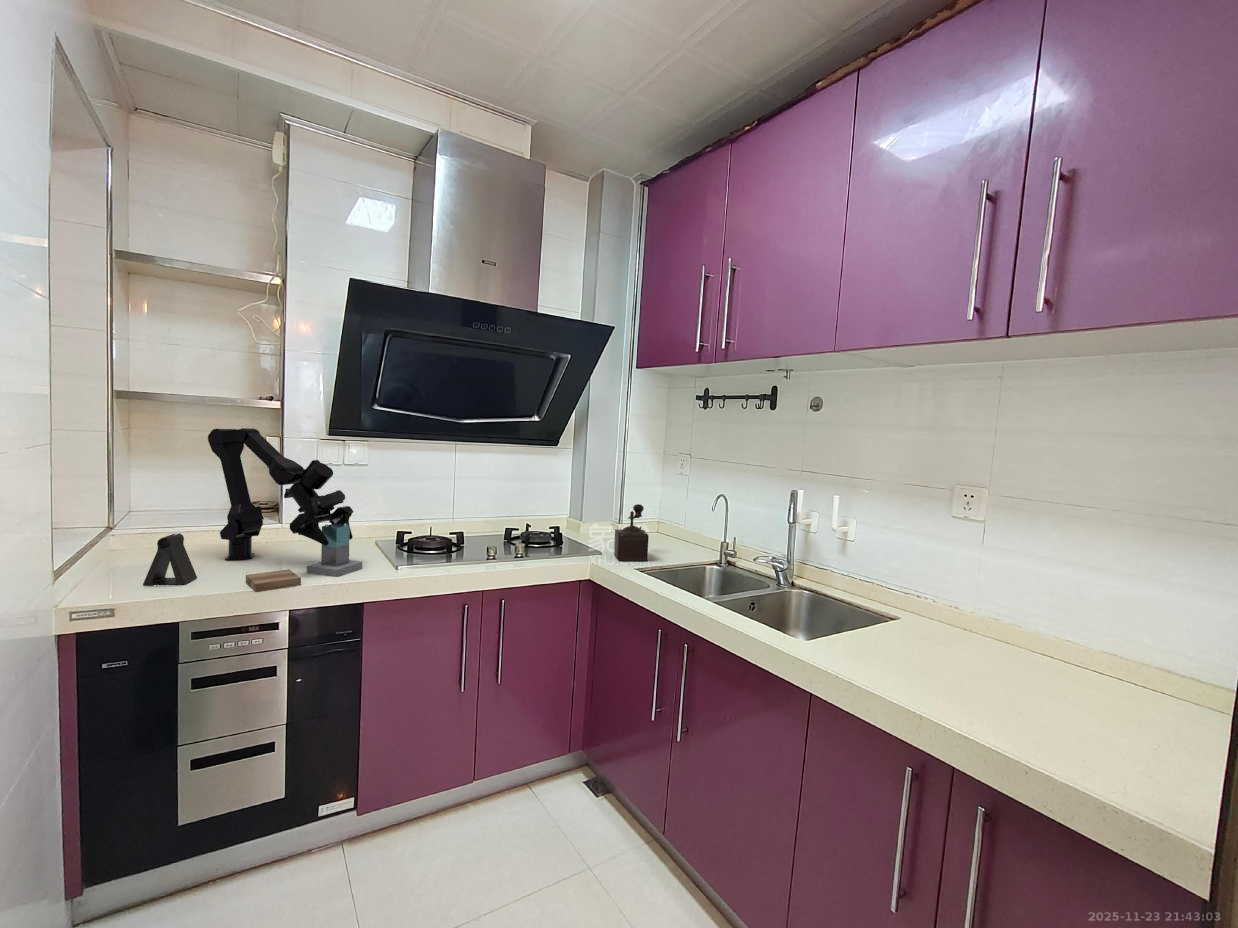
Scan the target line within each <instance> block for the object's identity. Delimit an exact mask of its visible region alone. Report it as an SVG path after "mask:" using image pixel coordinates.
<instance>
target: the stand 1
mask: <svg viewBox="0 0 1238 928" xmlns="http://www.w3.org/2000/svg"><path fill="white" fill-rule="evenodd" d="M245 583H246V584H247V585H248V587H250V588H251V589H252V590H253V591H254V592H255V593H257V592H264V591H272V590H279V589H283V588H284V587H285V588H290V587H291V586H292V587H298V586H297V585H299V586H301V585H302V577H301V576H300V575H298V574H296V572H294V571H292V570H291V569H283V570H282V569H281V570H275V571H267V572H259V573H258V572H257V573H253V574H252V573H250V574H245ZM285 588H284V589H285Z"/></svg>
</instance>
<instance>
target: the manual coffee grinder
mask: <svg viewBox="0 0 1238 928" xmlns="http://www.w3.org/2000/svg"><path fill="white" fill-rule="evenodd" d="M632 508H633V509H632V511H630V515H629V516H628V517H627V519H629V520H630V525H628V526H626V527H624V528H620V529H615V530H614V541H613V542H614V547H613V548H614V549H613V550H614V552H613V555H614V557H615V559H616V560H617V561H618V562H634V563H635V562H639V563H641V562H643V563H644V562H645V563H646V562H648V561H649V560H648V554H649V553H648V552H649V534H648V533H647V532H646V530H644V529H642V526H640V527H638V526H636V525H634V519H639V518H642V517H643V515H642V514H643V513H642V512H643V511H644V506H643V505H642V504H639V503H638V504H637V503H636V504H634V505H633V506H632Z"/></svg>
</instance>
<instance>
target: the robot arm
mask: <svg viewBox="0 0 1238 928" xmlns="http://www.w3.org/2000/svg"><path fill="white" fill-rule="evenodd" d="M207 442H208V444H209V447H210V448H211V449H210V450H211V451H212V453H213V454H215V456H217V458H218V459H219V460H220V464H221V468H222V473H223V475H224V481H225V485H226V490H227V494H228V497H229V503H230V508H229V511H228V513H227V524H226V525H225V526H224V527H223V528H222V529H221V530H220V531H219V535H220V539H221V540H225V541H228V555H227V556H226V557H225V558H224V560H225V561H235V560H236V561H237V560H252V559H253V557H254V556H255V552H253V551H252V549H253V546H252V545H253V544H252V540H253V539H252V538H253V537H258V536H259V535H260V532H261V530H262V527H263V525H264V520H265V517H264V516H263V512H262V511H263V510H262V508H261V506H255V505H254V503H252V501H251V496H250V493H249V488H248V483H247V479H246V475H245V471H244V467H243V462H242V458H241V455H242V453H243V451H244V449H245V447H247V448H248V449H249V450H250V451H251V452H252V453H253V454H254V455H255V456H256V457H257V458H258V459H259V460H260V461H262V462H263V463H264V464H265V466H267V468H268V474H269V476H270V477H271V478H272V480H273V481H274V483H276V484H277V485H279V486H288V485H291V486H290V487H289V488H285V490H284V491H285V492H284V493H283V498H284V499H290V498H292V499H293V500H294V501H295V503H296V505H298V507H299V508H298V509H297V511H298V512H299V514H298V515H297V516H296V517H294V519H293V520H292V521H291V522H290V523H289V530H290V531H291V533H292V534H297V535H299V536H302V537H305V538H308V539H310V540H313V541H315V542H317V543H318V544H321V545H322V544H323V545H325V546H327V545H328V544H329V542H328V540H327V538H326V537H325V535H324V534H323V532H322V528H320V526H319V525H320V523H324V522H329V523H330V525H331V524H343V525H344V524H347V525H350V519H351V517H352V514H353V513H354V510H353V509H352V508H351V506H348V505H344V506H338V507H337V508H335V506H337V505H339V504H343V503H344V501H345V500H346V495H345V493H343V491H342V490H340V489H339V490H335V491H333V492H331V493H330V492H329V493H327V494H325V495H319V494H318V492H317V491H316V490H321V488H322V487H324V486H325V485H326V483H327V482H328V481H330V479H331V478H332V477H333V476H334V471H333V469H332V468H331V467H330V466H328V465H327V464H325V463H323V462H321V461H320V460H319V459H313V460H311V462H310V463H309V465H307V467H306V468H304V467H303V466H302V465H301V464H299V463H298V462H296V461H294V460H293V459H289V458H287V457H285V456H284V455H282V454H281V453H280V452H279V451H278V450H277V449H276V448H275V447H274V446H273V444H271V443H270V442H269V441H268V440H267V439H266V438H264V436H263V435H261V432H260V431H259V429H256V428H251V427H250V428H249V427H244V428H243V427H242V428H238V429H237V428H213V429H212V430H210V432H209V434H208V435H207ZM333 510H334V511H333ZM331 511H333V512H332V513H331ZM352 539H353V533H352V530H351V528H350V538H349V541H350V540H352Z"/></svg>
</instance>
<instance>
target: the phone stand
mask: <svg viewBox="0 0 1238 928" xmlns="http://www.w3.org/2000/svg"><path fill="white" fill-rule="evenodd" d="M184 541H185V538H184V535H183V534H182V533H180V532H179V533H173V534H168V535H167V536H163V537H161V538H159V539H158V540H157V542H156V543H157V544H156V545H157V551H156V553H155V555H154V557H153V560H152V562H151V564H150V567H149V569H148V572H147V574H146V577H145V579H144V580H143V583H142V585H143V587H150V586H151V587H156V586H157V585H164V586H165V585H175V586H186V585H187V584H189V583H191V582H193V581H195V580H196V579H197V578H198V575H197V573H196V571H195V569H194V567H193V564H192V561H191V560H190V557H189V554H188V552H187V550H186V548H185V545H184ZM169 565H170V566H171V569H172V572H173V576H174V577H166V575H167V572H168V569H169ZM154 585H156V586H154ZM157 587H158V586H157Z"/></svg>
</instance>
